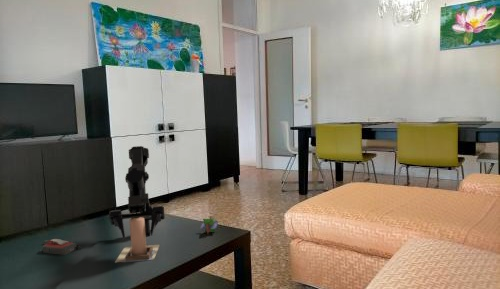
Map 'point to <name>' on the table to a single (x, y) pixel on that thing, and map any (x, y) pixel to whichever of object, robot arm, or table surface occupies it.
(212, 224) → the geometric puzzle
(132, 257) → the walnut socket
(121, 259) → the tan flat square frame
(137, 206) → the robot arm
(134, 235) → the terracotta column
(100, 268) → the table surface
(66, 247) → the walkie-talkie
